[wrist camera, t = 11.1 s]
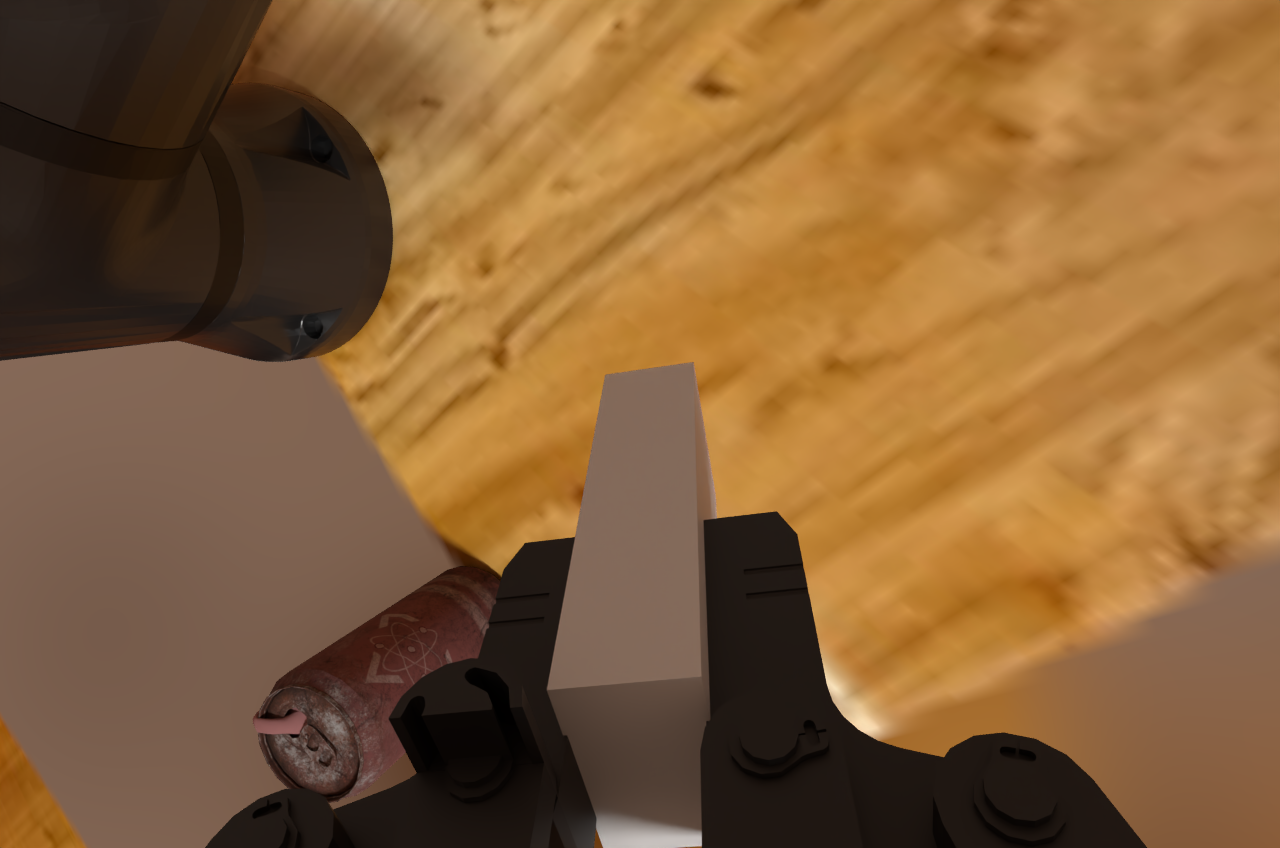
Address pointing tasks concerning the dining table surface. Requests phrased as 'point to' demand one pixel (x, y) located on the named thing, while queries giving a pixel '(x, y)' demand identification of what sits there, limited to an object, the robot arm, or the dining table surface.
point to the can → (369, 685)
